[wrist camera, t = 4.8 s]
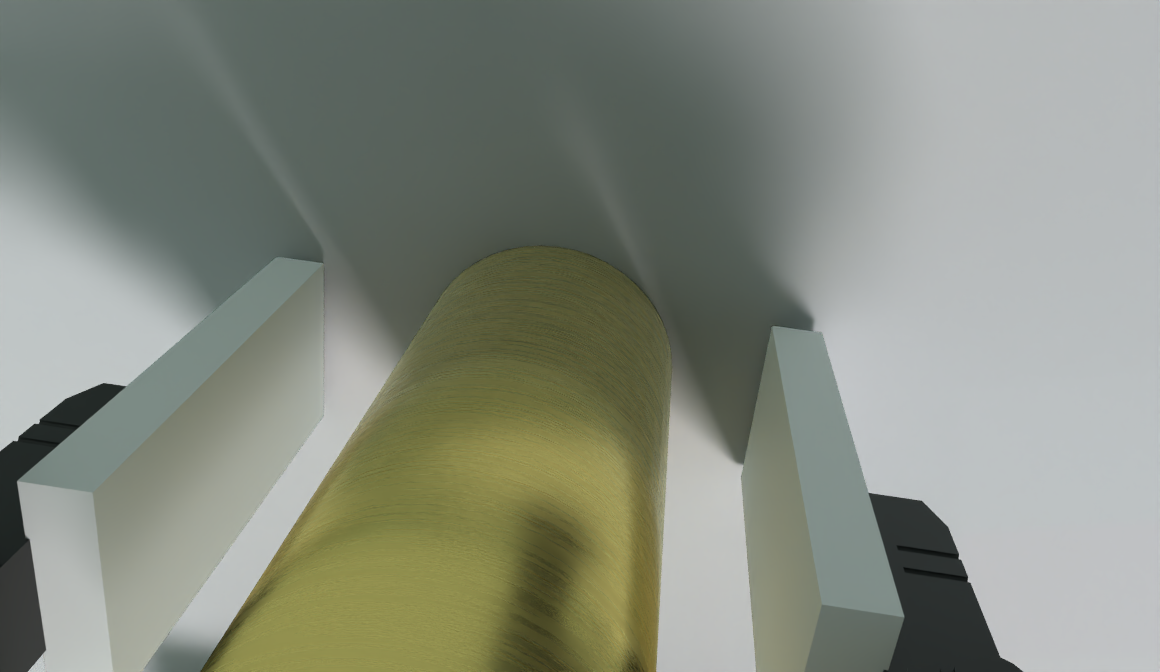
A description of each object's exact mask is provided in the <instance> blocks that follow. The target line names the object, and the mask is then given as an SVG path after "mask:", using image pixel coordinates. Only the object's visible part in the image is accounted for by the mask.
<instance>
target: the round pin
mask: <svg viewBox="0 0 1160 672" xmlns="http://www.w3.org/2000/svg"><path fill="white" fill-rule="evenodd" d="M671 378H672V358H671V349H670V345H669V340H668V336H667V333H666V330H665V328H664V325H663V322H662V320H661V318H660V317H659V315H658V313H657V311H656V309H655V307H654V306H653V305H652V303H651V302H650V300H649V299H648V297H647V296H646V295H645V294H644V293H643V292H642V291H641V289H640V288H639V287H638V286H637V285H636V284H635V283H634V282H633V281H631V280H630V279H629V278H628V277H627V276H626V275H624V274H623V273H622V272H620V271H619V270H617V269H616V268H614V267H613V266H611V265H609V264H608V263H606V262H604V261H602V260H600V259H598V258H595V257H593V256H591V255H588V254H585V253H582V252H579V251H576V250H571V249H566V248H561V247H552V246H526V247H520V248H514V249H509V250H505V251H502V252H499V253H496V254H493V255H491V256H489V257H486V258H484V259H482V260H480V261H478V262H477V263H475V264H474V265H472V266H470V267H469V268H467V269H466V270H465V271H463V272H462V273H461V274H460V275H459V276H458V277H457V278H455V279H454V280H453V281H452V283H451V284H450V285H449V286H448V287H447V288H446V290H445V291H444V292H443V294H442V295H441V297H440V298H439V300H438V301H437V303H436V304H435V306H434V308H433V309H432V311H431V312H430V314H429V315H428V317H427V319H426V320H425V322H424V323H423V325H422V326H421V328H420V329H419V331H418V333H417V334H416V336H415V337H414V339H413V340H412V342H411V343H410V345H409V347H408V348H407V350H406V351H405V353H404V354H403V356H402V358H401V359H400V361H399V362H398V364H397V365H396V367H395V368H394V370H393V372H392V373H391V375H390V376H389V378H388V379H387V381H386V383H385V384H384V386H383V387H382V389H381V390H380V392H379V393H378V395H377V397H376V398H375V400H374V401H373V403H372V404H371V406H370V408H369V409H368V411H367V412H366V414H365V415H364V417H363V418H362V420H361V422H360V423H359V425H358V426H357V428H356V429H355V431H354V433H353V434H352V436H351V437H350V439H349V440H348V442H347V443H346V445H345V447H344V448H343V450H342V451H341V453H340V454H339V456H338V457H337V459H336V461H335V462H334V464H333V465H332V467H331V468H330V470H329V472H328V473H327V475H326V476H325V478H324V479H323V481H322V482H321V484H320V486H319V487H318V489H317V490H316V492H315V493H314V495H313V497H312V498H311V500H310V501H309V503H308V504H307V506H306V507H305V509H304V511H303V512H302V514H301V515H300V517H299V518H298V520H297V522H296V523H295V525H294V526H293V528H292V529H291V531H290V532H289V534H288V536H287V537H286V539H285V540H284V542H283V543H282V545H281V547H280V548H279V550H278V551H277V553H276V554H275V556H274V557H273V559H272V561H271V562H270V564H269V565H268V567H267V568H266V570H265V571H264V573H263V575H262V576H261V578H260V579H259V581H258V582H257V584H256V586H255V587H254V589H253V590H252V592H251V593H250V595H249V596H248V598H247V600H246V601H245V603H244V604H243V606H242V607H241V609H240V611H239V612H238V614H237V615H236V617H235V618H234V620H233V621H232V623H231V625H230V626H229V628H228V629H227V631H226V632H225V634H224V636H223V637H222V639H221V640H220V642H219V643H218V645H217V646H216V648H215V650H214V651H213V653H212V654H211V656H210V657H209V659H208V660H207V662H206V664H205V665H204V667H203V668H202V670H201V671H200V672H656V663H657V644H658V625H659V606H660V587H661V568H662V549H663V530H664V511H665V492H666V473H667V454H668V435H669V416H670V397H671Z"/></svg>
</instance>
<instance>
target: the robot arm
mask: <svg viewBox="0 0 1160 672" xmlns="http://www.w3.org/2000/svg"><path fill="white" fill-rule="evenodd" d="M323 416H324V263H319V262H312V261H305V260H297V259H290V258H283V257H276V258H275V259H273V260H272V261H271V262H270V263H269V264H268V265H266V266H265V267H264V268H263V269H262V270H261V271H260V272H258V273H257V274H256V275H255V276H254V277H253V278H251V279H250V280H249V281H248V282H247V283H246V284H244V285H243V286H242V287H241V288H240V289H239V290H238V291H236V292H235V293H234V294H233V295H232V296H231V297H229V298H228V299H227V300H226V301H225V302H224V303H222V304H221V305H220V306H219V307H218V308H217V309H216V310H214V311H213V312H212V313H211V314H210V315H209V316H207V317H206V318H205V319H204V320H203V321H202V322H201V323H199V324H198V325H197V326H196V327H195V328H194V329H192V330H191V331H190V332H189V333H188V334H187V335H185V336H184V337H183V338H182V339H181V340H180V341H179V342H177V343H176V344H175V345H174V346H173V347H172V348H170V349H169V350H168V351H167V352H166V353H165V354H163V355H162V356H161V357H160V358H159V359H158V360H157V361H155V362H154V363H153V364H152V365H151V366H150V367H148V368H147V369H146V370H145V371H144V372H143V373H141V374H140V375H139V376H138V377H137V378H136V379H135V380H133V381H132V382H131V383H130V384H129V385H128V386H120V385H113V384H106V383H103V384H100V385H98V386H95V387H93V388H91V389H88V390H86V391H84V392H81V393H79V394H76V395H74V396H72V397H69V398H67V399H65V400H64V401H63V402H61V403H60V404H59V405H58V406H56V407H55V408H54V409H53V410H51V411H50V412H49V413H48V414H46V415H45V416H44V417H43V418H41V419H40V423H39V424H34V425H33V426H31V427H30V428H29V429H28V430H26V431H25V432H24V433H23V434H21V435H20V436H19V439H18V441H17V442H16V441H13V442H11V443H10V444H9V445H8V446H6V447H5V448H4V449H3V450H1V451H0V672H28V671H29V669H30V668H31V667H32V666H33V665H34V664H35V662H36V661H37V660H38V659H39V658H40V657H41V655H42V654H43V658H44V664H45V671H46V672H142V670H143V669H144V668H145V666H146V665H147V663H148V662H149V661H150V659H151V658H152V656H153V655H154V654H155V652H156V651H157V649H158V648H159V647H160V645H161V644H162V642H163V641H164V640H165V638H166V637H167V635H168V634H169V633H170V631H171V630H172V628H173V627H174V625H175V624H176V623H177V621H178V620H179V618H180V617H181V616H182V614H183V613H184V611H185V610H186V609H187V607H188V606H189V604H190V603H191V602H192V600H193V599H194V597H195V596H196V595H197V593H198V592H199V590H200V589H201V588H202V586H203V585H204V583H205V582H206V581H207V579H208V578H209V576H210V575H211V574H212V572H213V571H214V569H215V568H216V566H217V565H218V564H219V562H220V561H221V559H222V558H223V557H224V555H225V554H226V552H227V551H228V550H229V548H230V547H231V545H232V544H233V543H234V541H235V540H236V538H237V537H238V536H239V534H240V533H241V531H242V530H243V529H244V527H245V526H246V524H247V523H248V522H249V520H250V519H251V517H252V516H253V515H254V513H255V512H256V510H257V509H258V507H259V506H260V505H261V503H262V502H263V500H264V499H265V498H266V496H267V495H268V493H269V492H270V491H271V489H272V488H273V486H274V485H275V484H276V482H277V481H278V479H279V478H280V477H281V475H282V474H283V472H284V471H285V470H286V468H287V467H288V465H289V464H290V463H291V461H292V460H293V458H294V457H295V455H296V454H297V453H298V451H299V450H300V448H301V447H302V446H303V444H304V443H305V441H306V440H307V439H308V437H309V436H310V434H311V433H312V432H313V430H314V429H315V427H316V426H317V425H318V423H319V422H320V420H321V419H322V418H323ZM741 483H742V495H743V508H744V521H745V533H746V546H747V559H748V571H749V584H750V597H751V609H752V622H753V635H754V647H755V660H756V672H1023V671H1022V670H1020V669H1019V668H1018V667H1017V666H1015V665H1014V664H1012V663H1010V662H1008V661H1006V660H1004V659H1002V658H1000V656H999V653H998V651H997V648H996V646H995V643H994V641H993V638H992V636H991V633H990V631H989V628H988V626H987V623H986V621H985V618H984V616H983V613H982V611H981V608H980V606H979V603H978V601H977V598H976V596H975V593H974V591H973V588H972V586H971V583H968V582H967V580H968V576H967V573H966V571H965V568H964V566H963V563H962V561H961V560H959V559H958V557H959V553H958V551H957V548H956V546H955V543H954V541H953V538H952V536H951V533H950V531H949V528H948V527H947V526H946V525H945V524H944V523H943V522H942V521H941V520H940V519H939V518H938V517H937V516H936V515H935V514H934V513H933V512H932V511H931V510H930V509H929V508H928V507H927V506H926V505H925V504H924V503H923V502H922V501H919V500H912V499H905V498H899V497H892V496H885V495H878V494H872V493H868V490H867V486H866V483H865V480H864V476H863V473H862V469H861V466H860V462H859V459H858V455H857V452H856V449H855V445H854V442H853V438H852V435H851V431H850V428H849V424H848V421H847V418H846V414H845V411H844V407H843V404H842V400H841V397H840V394H839V390H838V387H837V383H836V380H835V376H834V373H833V369H832V366H831V363H830V359H829V356H828V352H827V349H826V345H825V342H824V338H823V335H822V333H821V332H814V331H807V330H800V329H793V328H785V327H778V326H772V328H771V333H770V338H769V343H768V348H767V353H766V358H765V362H764V367H763V372H762V377H761V382H760V387H759V392H758V397H757V402H756V406H755V411H754V416H753V421H752V426H751V431H750V436H749V441H748V446H747V450H746V455H745V460H744V465H743V470H742V475H741Z"/></svg>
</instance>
